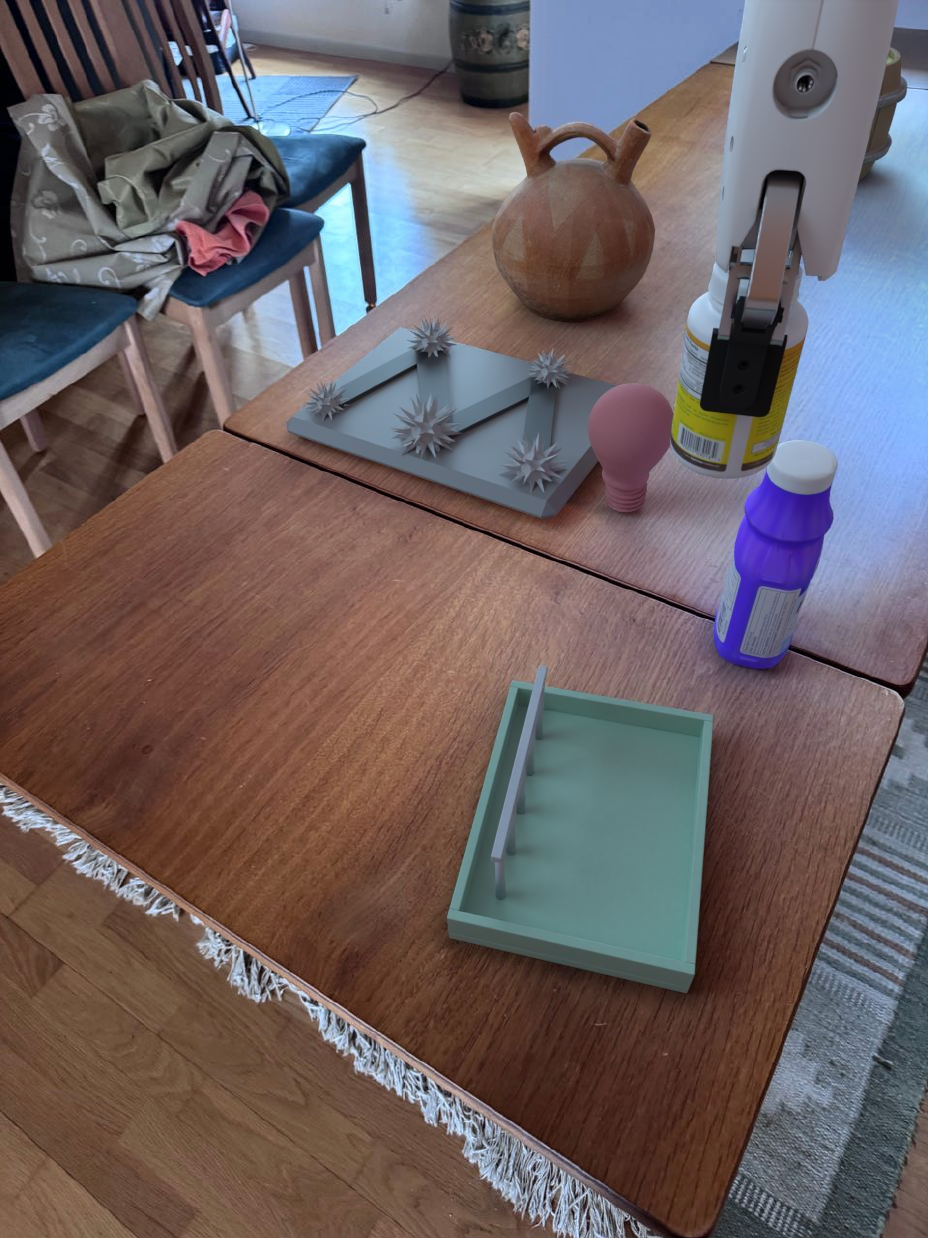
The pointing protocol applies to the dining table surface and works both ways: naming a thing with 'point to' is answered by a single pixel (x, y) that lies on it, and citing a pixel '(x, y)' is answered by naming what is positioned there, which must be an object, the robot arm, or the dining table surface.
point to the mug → (885, 112)
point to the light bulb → (629, 440)
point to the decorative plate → (462, 418)
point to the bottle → (776, 555)
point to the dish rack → (590, 836)
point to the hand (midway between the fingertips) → (738, 371)
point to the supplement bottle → (719, 437)
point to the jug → (574, 223)
